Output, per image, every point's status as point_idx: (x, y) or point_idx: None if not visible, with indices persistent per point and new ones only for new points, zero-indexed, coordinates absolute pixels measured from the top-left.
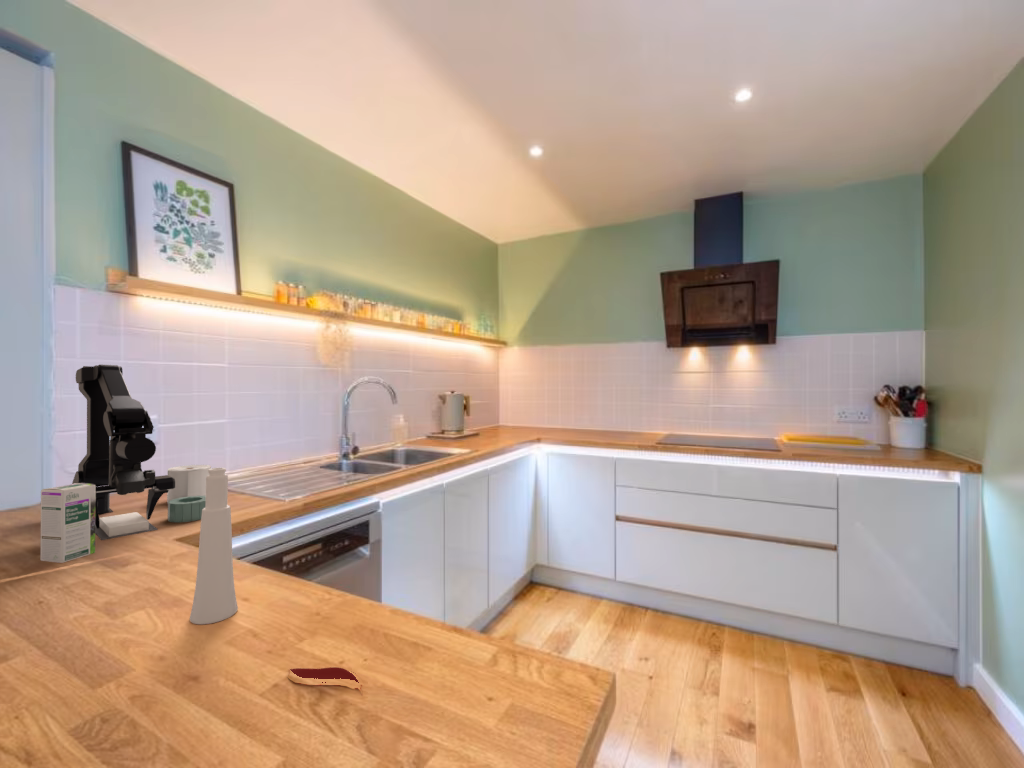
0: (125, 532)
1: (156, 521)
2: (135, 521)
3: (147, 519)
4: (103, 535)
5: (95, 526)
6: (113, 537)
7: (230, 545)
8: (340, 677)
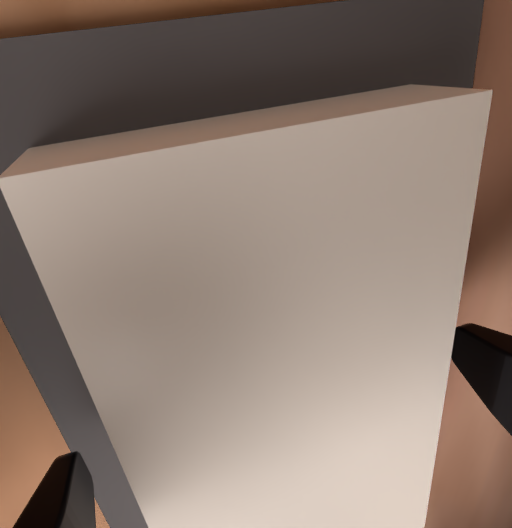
0: (282, 110)
1: None
2: (202, 273)
3: (80, 454)
4: None
5: None
6: (388, 19)
7: None
8: None
